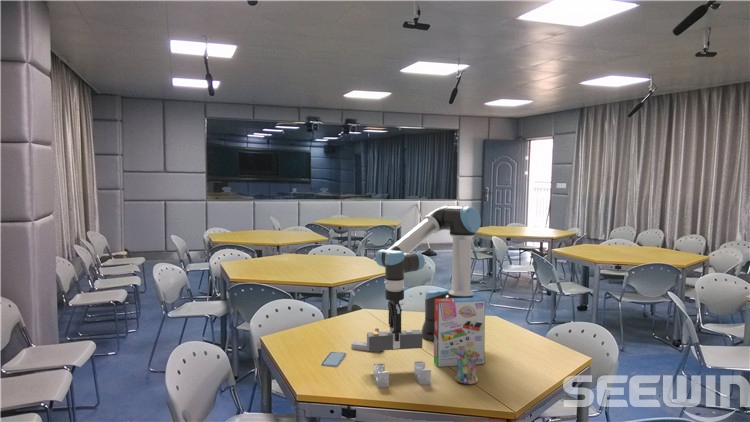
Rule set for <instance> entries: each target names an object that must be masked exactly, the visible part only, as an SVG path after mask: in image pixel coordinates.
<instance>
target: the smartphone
mask: <svg viewBox="0 0 750 422" xmlns="http://www.w3.org/2000/svg"><path fill="white" fill-rule="evenodd" d="M346 356H347V353H346V352H339V351H330V352H329V353H328V355H327V356H326V357H325V358H324V360H322V362H321V363H320V366H322V367H332V368H337V367H339V366H340V364H342V362H343V360H344V359H345V358H346Z"/></svg>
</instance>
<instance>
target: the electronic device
mask: <svg viewBox="0 0 750 422" xmlns="http://www.w3.org/2000/svg"><path fill="white" fill-rule="evenodd" d="M374 331H377V332H380V328H374ZM351 349H353V350H359V351H368V352H370V351H369V350H368V348H367V341H362V340H354V341H352V342H351ZM376 352H379V351H376Z"/></svg>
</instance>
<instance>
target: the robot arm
mask: <svg viewBox="0 0 750 422" xmlns="http://www.w3.org/2000/svg"><path fill="white" fill-rule="evenodd" d="M481 221H482V220H481V215H480V213H479V211H478V210H477V208H475V207H473V206H467V205H443V206H440V207H438V208H436V209H434V210H432V211H431V212H429V213H427V214H426V215H425V216H424V217H422V221H421V222H420V223H419V224H417V225H416V226H414V227H413V228H412V229H411V230H410V231H407V233H405V235H403V236H402V237H400V238H399V240H397V241H396V242H394V243H393V244H392V245H391V246H390V247H389V248H387V249H386V248H384V249H379V250H378V251H377V252H376V254H375V263H376V264H377V265H378V266H380V267H383V268H384V269H385V270H384V271H385V275H384V279H385V281H384V282H383V284H384V285H385V299H386V301H387V303H388V325H389V331H393V332H392V333H393V349H399V350H401V349H400V333H401V332H402V331H403V330H402V311H403V310H402V308H401V307H402V306H401V304H400V301H403V300H404V299H405V290H404V289H405V274H406V273H407V274H408V273H412V272H417V271H419V270H422V269H423V268H424V267H425V265H426V259H425V256H424V255H423V253H421V252H419V251H418V252H412V251H414V250H415V249H416V248H417V247H419V245H421V244H422V243H423V242H424V241H426V240H427V239H428V238H429V237H430V236H432V234H438V233H439V232H440V231H444V230H447V231H449V236H450V237H451V238H452V257H451V258H452V259H451V262H452V264H451V289H450V290H449V289H447V288H438V289H430V290H427V291H426V292H425V298H424V316H425V317H424V322H423V325H422V328H421V329H420V331H421V332H422V333H423V339H425V340H428V341H433V342H434V317H435V299H447V298H474V292H473V291H472V290H471V279H472V278H471V273H472V271H471V270H472V269H471V268H472V239H473V238H474V237H475V236H476V233H477V232H478V231H479V229H480V227H481V223H482V222H481Z"/></svg>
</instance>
